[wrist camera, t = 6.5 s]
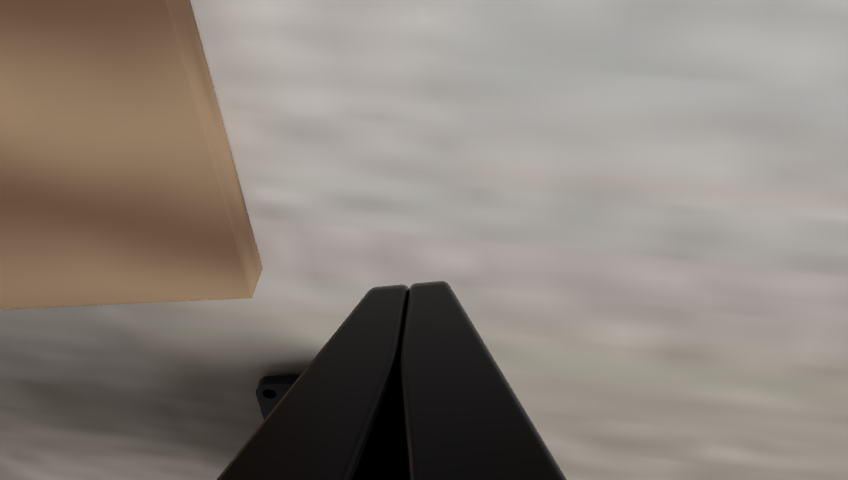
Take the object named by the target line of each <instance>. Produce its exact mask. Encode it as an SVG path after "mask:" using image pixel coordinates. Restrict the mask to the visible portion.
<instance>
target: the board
mask: <svg viewBox="0 0 848 480" xmlns="http://www.w3.org/2000/svg"><path fill="white" fill-rule="evenodd" d="M261 271H262V265H261V261H260V257H259V254H258V250H257V246H256V243H255V239H254V235H253V232H252V228H251V224H250V220H249V217H248V213H247V209H246V206H245V202H244V198H243V195H242V191H241V187H240V184H239V180H238V176H237V172H236V169H235V165H234V161H233V158H232V154H231V150H230V147H229V143H228V139H227V136H226V132H225V128H224V124H223V121H222V117H221V113H220V110H219V106H218V102H217V99H216V95H215V91H214V87H213V84H212V80H211V76H210V73H209V69H208V65H207V62H206V58H205V54H204V51H203V47H202V43H201V39H200V36H199V32H198V28H197V25H196V21H195V17H194V14H193V10H192V6H191V3H190V0H0V309H20V308H42V307H64V306H85V305H107V304H129V303H151V302H173V301H195V300H217V299H239V298H252V296H253V293H254V290H255V288H256V285H257V282H258V279H259V277H260V274H261Z"/></svg>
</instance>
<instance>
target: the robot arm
mask: <svg viewBox="0 0 848 480" xmlns="http://www.w3.org/2000/svg"><path fill="white" fill-rule="evenodd" d="M269 389H271V390H269ZM272 390H274V391H272ZM256 396H257V399H258V402H259V405H260V408H261V411H262V414H263V417H264V421H263V423H262V424H261V425H260V426H259V428H258V429H257V430H256V431H255V433H254V434H253V435H252V436H251V438H250V439H249V440H248V441H247V442H246V444H245V445H244V446H243V447H242V449H241V450H240V451H239V452H238V454H237V455H236V456H235V457H234V459H233V460H232V461H231V462H230V464H229V465H228V466H227V467H226V468H225V470H224V471H223V472H222V473H221V475H220V476H219V477H218V478H217V480H566V478H565V476H564V475H563V473H562V471H561V470H560V468H559V466H558V465H557V463H556V461H555V460H554V458H553V456H552V455H551V453H550V451H549V450H548V448H547V446H546V445H545V443H544V441H543V440H542V438H541V436H540V435H539V433H538V431H537V430H536V428H535V426H534V425H533V423H532V422H531V420H530V418H529V417H528V415H527V413H526V412H525V410H524V408H523V407H522V405H521V403H520V402H519V400H518V398H517V397H516V395H515V393H514V392H513V390H512V388H511V387H510V385H509V383H508V382H507V380H506V378H505V377H504V375H503V373H502V372H501V370H500V368H499V367H498V365H497V364H496V362H495V360H494V359H493V357H492V355H491V354H490V352H489V350H488V349H487V347H486V345H485V344H484V342H483V340H482V339H481V337H480V335H479V334H478V332H477V330H476V329H475V327H474V325H473V324H472V322H471V320H470V319H469V317H468V315H467V314H466V312H465V310H464V309H463V307H462V305H461V304H460V302H459V301H458V299H457V297H456V296H455V294H454V292H453V291H452V289H451V287H450V286H449V285H448V284H447V283H446V282H444V281H437V282H426V283H416V284H413V285H412V286H411V287H410V289H409V288H408V287H407V286H405V285H393V286H382V287H375V288H372V289H371V290H369V291H368V293H367V294H366V295H365V296H364V298H363V299H362V300H361V301H360V302H359V304H358V305H357V306H356V307H355V309H354V310H353V311H352V312H351V314H350V315H349V316H348V317H347V319H346V320H345V321H344V322H343V324H342V325H341V326H340V327H339V328H338V330H337V331H336V332H335V333H334V335H333V336H332V337H331V338H330V340H329V341H328V342H327V343H326V345H325V346H324V347H323V348H322V350H321V351H320V352H319V353H318V355H317V356H316V357H315V358H314V359H313V361H312V362H311V363H310V364H309V366H308V367H307V368H306V369H305V371H304V372H303V373H302V374H301V375H288V376H267V377H264V378H262V379H260V381H259V383H258V386H257V389H256Z"/></svg>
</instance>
